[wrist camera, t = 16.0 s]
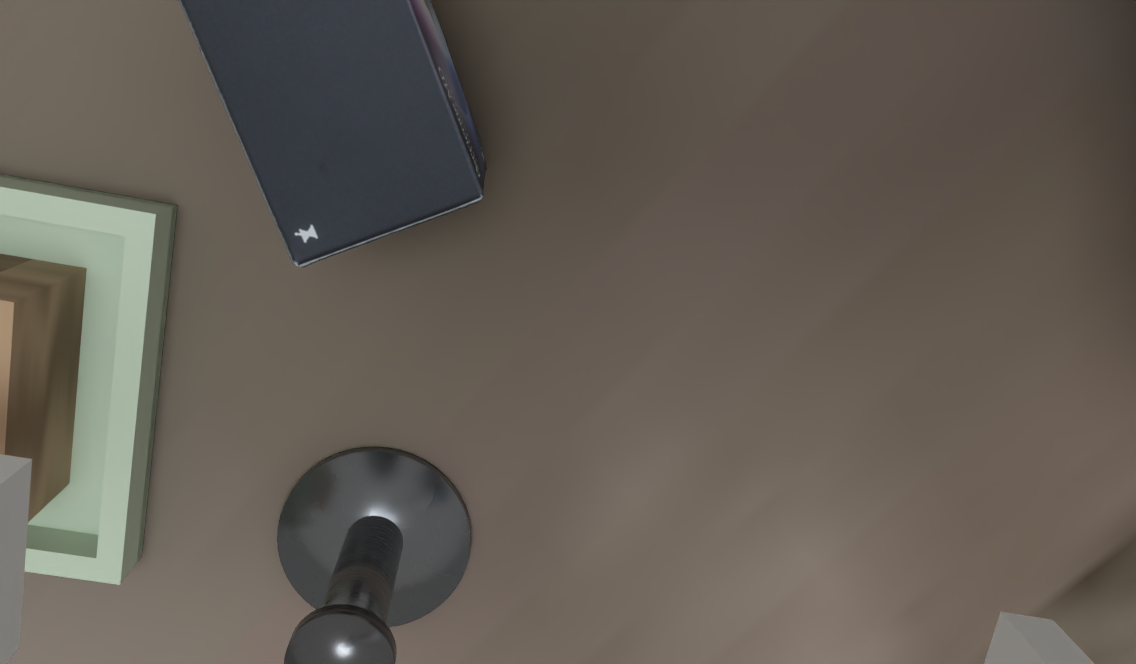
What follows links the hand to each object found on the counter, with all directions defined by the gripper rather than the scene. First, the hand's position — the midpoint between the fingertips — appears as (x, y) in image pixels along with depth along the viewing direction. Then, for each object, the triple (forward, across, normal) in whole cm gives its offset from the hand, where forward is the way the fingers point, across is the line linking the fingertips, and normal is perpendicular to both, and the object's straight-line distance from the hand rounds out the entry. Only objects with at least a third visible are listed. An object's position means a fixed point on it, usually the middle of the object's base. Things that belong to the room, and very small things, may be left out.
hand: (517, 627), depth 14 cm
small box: (+28, -7, +6) cm, 30 cm away
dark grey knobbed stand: (+28, -4, -13) cm, 31 cm away
